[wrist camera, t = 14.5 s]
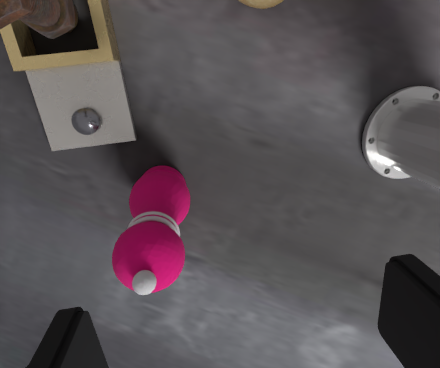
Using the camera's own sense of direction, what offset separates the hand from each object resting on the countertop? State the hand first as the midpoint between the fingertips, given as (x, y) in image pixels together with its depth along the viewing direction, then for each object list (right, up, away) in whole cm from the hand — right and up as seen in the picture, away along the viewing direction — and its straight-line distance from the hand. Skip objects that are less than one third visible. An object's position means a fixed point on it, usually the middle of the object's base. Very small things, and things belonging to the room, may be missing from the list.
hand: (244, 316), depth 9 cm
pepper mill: (-9, +4, +31) cm, 32 cm away
